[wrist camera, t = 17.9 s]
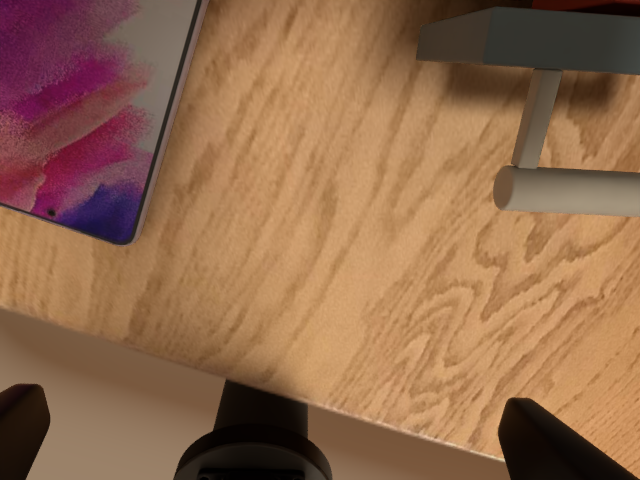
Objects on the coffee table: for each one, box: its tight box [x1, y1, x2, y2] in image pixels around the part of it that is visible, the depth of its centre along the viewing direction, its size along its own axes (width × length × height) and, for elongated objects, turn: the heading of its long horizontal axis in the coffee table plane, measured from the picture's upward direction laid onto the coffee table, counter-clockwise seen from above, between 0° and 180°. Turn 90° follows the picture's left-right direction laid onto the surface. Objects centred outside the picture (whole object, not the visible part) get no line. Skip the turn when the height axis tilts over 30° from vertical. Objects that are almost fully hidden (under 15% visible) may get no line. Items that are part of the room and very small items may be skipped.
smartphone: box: [0, 0, 209, 246], centre depth 16 cm, size 7×1×15 cm
